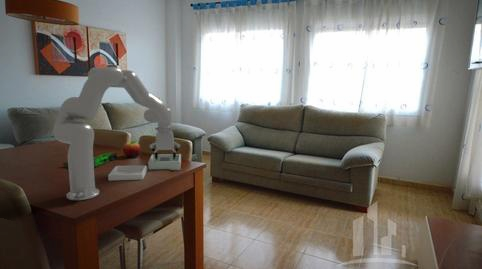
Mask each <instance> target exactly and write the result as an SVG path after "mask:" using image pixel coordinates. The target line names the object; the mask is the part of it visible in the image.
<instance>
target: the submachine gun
mask: <svg viewBox="0 0 482 269" xmlns="http://www.w3.org/2000/svg"><path fill="white" fill-rule="evenodd" d="M118 154H119V153H118V152H104V153H102V154H100V155H93V161H94V168H97V167H98V166H101V165H103V164H106V163H108V162H110V161H115V160H117V159H119V157H118ZM62 166H63V168H69V167H68V161H67V162H66V161H64V162H62Z"/></svg>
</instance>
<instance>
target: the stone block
mask: <svg viewBox="0 0 482 269" xmlns="http://www.w3.org/2000/svg"><path fill="white" fill-rule="evenodd" d="M160 160H161V161H170V155H165V156H161V157H160Z"/></svg>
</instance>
